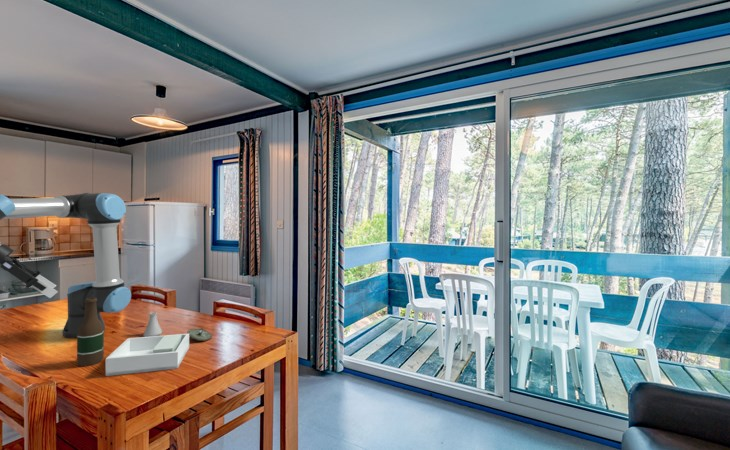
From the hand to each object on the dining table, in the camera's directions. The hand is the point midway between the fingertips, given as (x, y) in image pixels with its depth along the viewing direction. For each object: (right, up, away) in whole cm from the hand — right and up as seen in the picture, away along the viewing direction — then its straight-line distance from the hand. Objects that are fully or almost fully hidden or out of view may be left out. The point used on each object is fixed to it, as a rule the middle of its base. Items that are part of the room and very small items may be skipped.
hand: (53, 291), depth 118 cm
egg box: (+35, -27, +10) cm, 45 cm away
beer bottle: (+8, -28, +6) cm, 30 cm away
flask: (+12, -27, +36) cm, 47 cm away
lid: (+36, -28, +32) cm, 56 cm away
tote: (+29, -28, +9) cm, 41 cm away
